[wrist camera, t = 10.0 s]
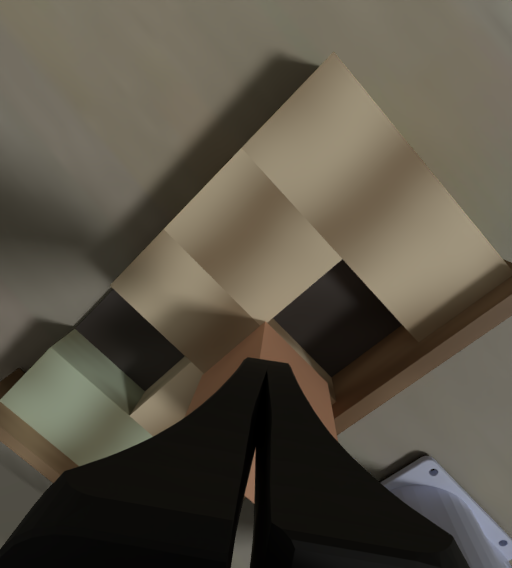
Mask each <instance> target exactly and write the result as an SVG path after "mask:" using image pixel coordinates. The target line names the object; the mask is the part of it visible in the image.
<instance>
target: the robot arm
mask: <svg viewBox="0 0 512 568" xmlns="http://www.w3.org/2000/svg"><path fill="white" fill-rule="evenodd" d="M255 448H256V452H255ZM254 453H255V496H254V530H253V544H252V553H251V562H250V568H512V567H511V565H510V563H509V560H511V559H512V539H511V538H510V537H509V535H508V534H507V533H506V532H505V531H504V530H503V529H502V528H501V527H500V526H499V525H498V524H497V523H496V522H495V521H494V520H493V519H492V518H491V517H490V516H489V515H488V514H487V513H486V512H485V511H484V510H483V509H482V508H481V507H480V506H479V505H478V504H477V503H476V502H475V501H474V499H473V498H472V497H471V496H470V495H469V494H468V493H467V492H466V491H465V490H464V489H463V488H462V487H461V486H460V485H459V484H458V483H457V482H456V481H455V480H454V479H453V478H452V477H451V476H450V475H449V474H448V473H447V472H446V471H445V470H444V469H443V468H442V467H441V466H440V464H439V463H438V462H437V461H436V460H435V459H434V458H432V457H431V456H423V457H421V458H419V459H418V460H416V461H414V462H413V463H411V464H409V465H408V466H406V467H405V468H403V469H401V470H400V471H398V472H397V473H395V474H393V475H392V476H390V477H388V478H387V479H385V480H384V481H382V482H378V481H377V480H376V479H375V478H374V477H373V476H371V475H370V474H369V473H368V472H367V471H366V470H365V469H364V468H363V467H362V466H361V465H360V464H359V463H358V462H357V461H356V460H354V459H353V458H352V457H351V456H350V455H349V453H348V452H347V451H346V450H345V449H344V448H343V447H342V446H341V445H340V444H339V443H338V441H337V440H336V439H335V438H334V437H333V436H332V435H331V433H330V432H329V431H328V429H327V428H326V427H325V425H324V424H323V423H322V421H321V420H320V418H319V417H318V416H317V414H316V413H315V411H314V410H313V408H312V406H311V405H310V403H309V401H308V400H307V398H306V396H305V395H304V393H303V391H302V389H301V387H300V386H299V384H298V382H297V380H296V377H295V375H294V373H293V371H292V368H291V366H290V365H289V364H288V363H284V362H277V361H270V360H264V359H257V358H250V357H247V358H246V359H244V360H243V362H242V363H241V365H240V366H239V367H238V369H237V370H236V371H235V372H234V373H233V375H232V376H231V377H230V378H229V379H228V380H227V381H226V382H225V383H224V384H223V385H222V386H221V387H220V388H219V389H218V390H217V391H216V392H215V393H214V394H213V395H212V396H211V397H210V398H208V399H207V400H206V401H205V402H204V403H203V404H202V405H200V406H199V407H198V408H197V409H195V410H194V411H193V412H191V413H190V414H189V415H187V416H186V417H184V418H183V419H182V420H180V421H179V422H177V423H176V424H174V425H172V426H171V427H169V428H167V429H165V430H164V431H162V432H160V433H158V434H157V435H155V436H153V437H151V438H149V439H147V440H145V441H143V442H141V443H139V444H137V445H135V446H132V447H130V448H128V449H125V450H123V451H121V452H118V453H116V454H113V455H111V456H108V457H105V458H102V459H99V460H96V461H93V462H90V463H88V464H85V465H82V466H79V467H76V468H73V469H69V470H66V471H64V472H63V473H62V474H61V475H60V477H59V478H58V479H57V480H56V481H55V482H54V483H53V484H52V485H51V486H50V487H49V488H48V489H47V490H46V491H45V493H44V494H43V495H42V496H41V497H40V499H39V500H38V501H37V502H36V503H35V504H34V506H33V507H32V508H31V510H30V511H29V512H28V514H27V515H26V516H25V518H24V519H23V520H22V522H21V523H20V524H19V525H18V527H17V528H16V530H15V531H14V532H13V533H12V535H11V536H10V537H9V539H8V540H7V541H6V543H5V544H4V545H3V546H2V548H1V549H0V568H231V562H232V555H233V549H234V542H235V536H236V531H237V525H238V520H239V516H240V512H241V508H242V503H243V499H244V495H245V491H246V487H247V482H248V478H249V474H250V470H251V465H252V461H253V457H254ZM431 469H435V470H433V471H430V470H431Z"/></svg>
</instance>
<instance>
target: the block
mask: <svg viewBox="0 0 512 568" xmlns="http://www.w3.org/2000/svg"><path fill="white" fill-rule="evenodd" d="M247 357H250V358H257V359H264V360H270V361H277V362H284V363H288V364H289V365H290V366H291V368H292V371H293V373H294V375H295V377H296V380H297V382H298V384H299V386H300V387H301V389H302V391H303V393H304V395H305V396H306V398H307V400H308V401H309V403H310V405H311V406H312V408H313V410H314V411H315V413H316V414H317V416H318V417H319V418H320V420H321V421H322V423H323V424H324V425H325V427H326V428H327V429H328V431H329V432H330V433H331V435H332V436H333V437H334V438H335V439H336V440H337V441H338V439H337V434H336V428H335V422H334V417H333V411H332V405H331V400H330V394H329V388H328V383H327V382H326V381H325V380H324V379H323V378H322V377H321V376H320V375H319V374H318V373H317V372H316V371H315V370H314V369H313V368H312V367H311V366H310V365H309V364H308V363H307V362H306V361H305V360H304V359H303V358H302V357H301V356H300V355H299V354H298V353H297V352H296V351H295V350H294V349H293V348H292V347H291V346H290V345H289V344H288V343H287V342H286V341H285V340H284V339H283V338H282V337H281V336H280V335H279V334H278V333H277V332H276V331H275V330H274V329H273V328H272V327H271V326H270V325H269V324H268V323H267V322H266V321H265V322H264V323H263V324H262V325H260V326H259V327H258V328H257V329H256V330H255V331H253V332H252V333H251V334H250V335H249V336H248V337H246V338H245V339H244V340H243V341H242V342H241V343H239V344H238V345H237V346H236V347H235V348H234V349H232V350H231V351H230V352H229V353H228V354H227V355H225V356H224V357H223V358H222V359H221V360H220V361H218V362H217V363H216V364H215V365H214V366H213V367H211V368H210V369H209V370H208V371H207V372H206V373H204V374H203V375H202V377H201V379H200V382H199V384H198V386H197V389H196V391H195V394H194V396H193V398H192V401H191V403H190V405H189V408H188V410H187V413H186V415H185V417H186V416H187V415H189V414H190V413H191V412H193V411H194V410H195V409H197V408H198V407H199V406H200V405H202V404H203V403H204V402H205V401H206V400H207V399H208V398H210V397H211V396H212V395H213V394H214V393H215V392H216V391H217V390H218V389H219V388H220V387H221V386H222V385H223V384H224V383H225V382H226V381H227V380H228V379H229V378H230V377H231V376H232V375H233V373H234V372H235V371H236V370H237V369H238V367H239V366H240V365H241V363H242V362H243V360H244V359H246V358H247ZM255 452H256V448H255ZM245 496H246V497H247V498H248V499H249V500H250V501H252V502H253V503H254V496H255V453H254V457H253V461H252V465H251V470H250V474H249V478H248V482H247V487H246V491H245Z"/></svg>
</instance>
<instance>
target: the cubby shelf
mask: <svg viewBox="0 0 512 568" xmlns="http://www.w3.org/2000/svg"><path fill="white" fill-rule="evenodd" d="M110 286H111V287H112V288H113V290H112V291H111V292H110V293H109V294H108V295H107V296H106V297H105V298H104V299H103V300H102V301H101V302H100V303H99V304H98V305H97V306H96V308H95V309H94V310H93V311H92V312H91V313H90V314H89V315H88V316H87V317H86V318H85V319H84V320H83V321H82V322H81V323H80V324H79V325H78V326H77V327H76V328H75V329H74V330H73V331H71V332H70V333H69V334H67V335H66V336H65V337H63V338H62V339H61V340H59V341H58V342H57V343H55V344H54V345H53V346H51V347H50V348H49V349H48V350H47V351H46V352H45V354H44V355H43V356H42V357H41V358H40V359H39V360H38V361H37V362H36V363H35V364H34V365H33V366H32V367H31V368H30V369H29V370H28V371H27V372H26V373H24V372H23V371H22V370H21V369H20V368H18V369H17V370H16V371H14V372H13V373H12V374H10V375H9V376H8V377H6V378H5V379H4V380H2V381H1V382H0V441H1V442H2V443H4V444H5V445H6V446H7V447H9V448H10V449H11V450H12V451H14V452H15V453H16V454H17V455H19V456H20V457H21V458H22V459H24V460H25V461H26V462H27V463H29V464H30V465H31V466H32V467H34V468H35V469H36V470H37V471H39V472H40V473H41V474H42V475H44V476H45V477H46V478H47V479H49V480H50V481H51V482H52V483H54V482H55V481H56V480H57V479H58V478H59V477H60V475H61V474H62V473H63V472H64V471H66V470H69V469H73V468H76V467H79V466H82V465H85V464H88V463H90V462H93V461H96V460H99V459H102V458H105V457H108V456H111V455H113V454H116V453H118V452H121V451H123V450H125V449H128V448H130V447H132V446H135V445H137V444H139V443H141V442H143V441H145V440H147V439H149V438H151V437H153V436H155V435H157V434H158V433H160V432H162V431H164V430H165V429H167V428H169V427H171V426H172V425H174V424H176V423H177V422H179V421H180V420H182V419H183V418H184V417H185V415H186V413H187V410H188V408H189V405H190V403H191V401H192V398H193V396H194V394H195V391H196V389H197V386H198V384H199V382H200V379H201V377H202V375H203V374H204V373H206V372H207V371H208V370H209V369H210V368H211V367H213V366H214V365H215V364H216V363H217V362H218V361H220V360H221V359H222V358H223V357H224V356H225V355H227V354H228V353H229V352H230V351H231V350H232V349H234V348H235V347H236V346H237V345H238V344H239V343H241V342H242V341H243V340H244V339H245V338H246V337H248V336H249V335H250V334H251V333H252V332H253V331H255V330H256V329H257V328H258V327H259V326H260V325H262V324H263V323H264V322H265V321H266V322H267V323H268V324H269V325H270V326H271V327H272V328H273V329H274V330H275V331H276V332H277V333H278V334H279V335H280V336H281V337H282V338H283V339H284V340H285V341H286V342H287V343H288V344H289V345H290V346H291V347H292V348H293V349H294V350H295V351H296V352H297V353H298V354H299V355H300V356H301V357H302V358H303V359H304V360H305V361H306V362H307V363H308V364H309V365H310V366H311V367H312V368H313V369H314V370H315V371H316V372H317V373H318V374H319V375H320V376H321V377H322V378H323V379H324V380H325V381H326V382H327V383H328V388H329V394H330V400H331V405H332V411H333V417H334V422H335V428H336V434H337V435H338V434H340V433H341V432H343V431H344V430H345V429H347V428H348V427H350V426H351V425H353V424H354V423H356V422H357V421H359V420H360V419H362V418H363V417H364V416H366V415H367V414H369V413H370V412H372V411H373V410H375V409H376V408H378V407H379V406H380V405H382V404H383V403H385V402H386V401H388V400H389V399H391V398H392V397H394V396H395V395H396V394H398V393H399V392H401V391H402V390H404V389H405V388H407V387H408V386H410V385H411V384H413V383H414V382H415V381H417V380H418V379H420V378H421V377H423V376H424V375H426V374H427V373H429V372H430V371H431V370H433V369H434V368H436V367H437V366H439V365H440V364H442V363H443V362H445V361H446V360H448V359H449V358H450V357H452V356H453V355H455V354H456V353H458V352H459V351H461V350H462V349H464V348H465V347H466V346H468V345H469V344H471V343H472V342H474V341H475V340H477V339H478V338H480V337H481V336H483V335H484V334H485V333H487V332H488V331H490V330H491V329H493V328H494V327H496V326H497V325H499V324H500V323H501V322H503V321H504V320H506V319H507V318H509V317H510V316H512V263H511V262H508V261H506V260H504V259H502V258H501V256H500V255H499V254H498V253H497V251H496V250H495V249H494V248H493V247H492V245H491V244H490V243H489V242H488V240H487V239H486V238H485V237H484V235H483V234H482V233H481V232H480V231H479V229H478V228H477V227H476V226H475V224H474V223H473V222H472V221H471V220H470V218H469V217H468V216H467V215H466V213H465V212H464V211H463V210H462V208H461V207H460V206H459V205H458V204H457V202H456V201H455V200H454V199H453V197H452V196H451V195H450V194H449V192H448V191H447V190H446V189H445V188H444V186H443V185H442V184H441V183H440V181H439V180H438V179H437V178H436V177H435V175H434V174H433V173H432V172H431V170H430V169H429V168H428V167H427V165H426V164H425V163H424V162H423V161H422V159H421V158H420V157H419V156H418V154H417V153H416V152H415V151H414V149H413V148H412V147H411V146H410V145H409V143H408V142H407V141H406V140H405V138H404V137H403V136H402V135H401V134H400V132H399V131H398V130H397V129H396V127H395V126H394V125H393V124H392V122H391V121H390V120H389V119H388V118H387V116H386V115H385V114H384V113H383V111H382V110H381V109H380V108H379V107H378V105H377V104H376V103H375V102H374V100H373V99H372V98H371V97H370V95H369V94H368V93H367V92H366V91H365V89H364V88H363V87H362V86H361V84H360V83H359V82H358V81H357V79H356V78H355V77H354V76H353V75H352V73H351V72H350V71H349V70H348V68H347V67H346V66H345V65H344V64H343V62H342V61H341V60H340V59H339V57H338V56H337V55H336V54H335V52H333V53H332V54H331V55H330V56H329V57H328V58H327V59H326V60H325V61H324V62H323V63H322V64H321V65H320V66H319V67H318V69H317V70H316V71H315V72H314V73H313V74H312V75H311V76H310V77H309V78H308V79H307V80H306V81H305V82H304V83H303V84H302V85H301V86H300V87H299V88H298V89H297V90H296V91H295V93H294V94H293V95H292V96H291V97H290V98H289V99H288V100H287V101H286V102H285V103H284V104H283V105H282V106H281V107H280V108H279V109H278V110H277V111H276V112H275V113H274V114H273V116H272V117H271V118H270V119H269V120H268V121H267V122H266V123H265V124H264V125H263V126H262V127H261V128H260V129H259V130H258V131H257V132H256V133H255V134H254V135H253V136H252V137H251V138H250V140H249V141H248V142H247V143H246V144H245V145H244V146H243V147H242V148H241V149H240V150H239V151H238V152H237V153H236V154H235V155H234V156H233V157H232V158H231V159H230V160H229V161H228V162H227V164H226V165H225V166H224V167H223V168H222V169H221V170H220V171H219V172H218V173H217V174H216V175H215V176H214V177H213V178H212V179H211V180H210V181H209V182H208V183H207V184H206V185H205V186H204V188H203V189H202V190H201V191H200V192H199V193H198V194H197V195H196V196H195V197H194V198H193V199H192V200H191V201H190V202H189V203H188V204H187V205H186V206H185V207H184V208H183V209H182V211H181V212H180V213H179V214H178V215H177V216H176V217H175V218H174V219H173V220H172V221H171V222H170V223H169V224H168V225H167V226H166V227H165V228H164V229H163V230H162V231H161V232H160V233H159V235H158V236H157V237H156V238H155V239H154V240H153V241H152V242H151V243H150V244H149V245H148V246H147V247H146V248H145V249H144V250H143V251H142V252H141V253H140V254H139V255H138V256H137V257H136V259H135V260H134V261H133V262H132V263H131V264H130V265H129V266H128V267H127V268H126V269H125V270H124V271H123V272H122V273H121V274H120V275H119V276H118V277H117V278H116V279H115V280H114V281H113V283H112V284H111V285H110ZM245 498H246V496H245V495H244V499H245Z"/></svg>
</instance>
